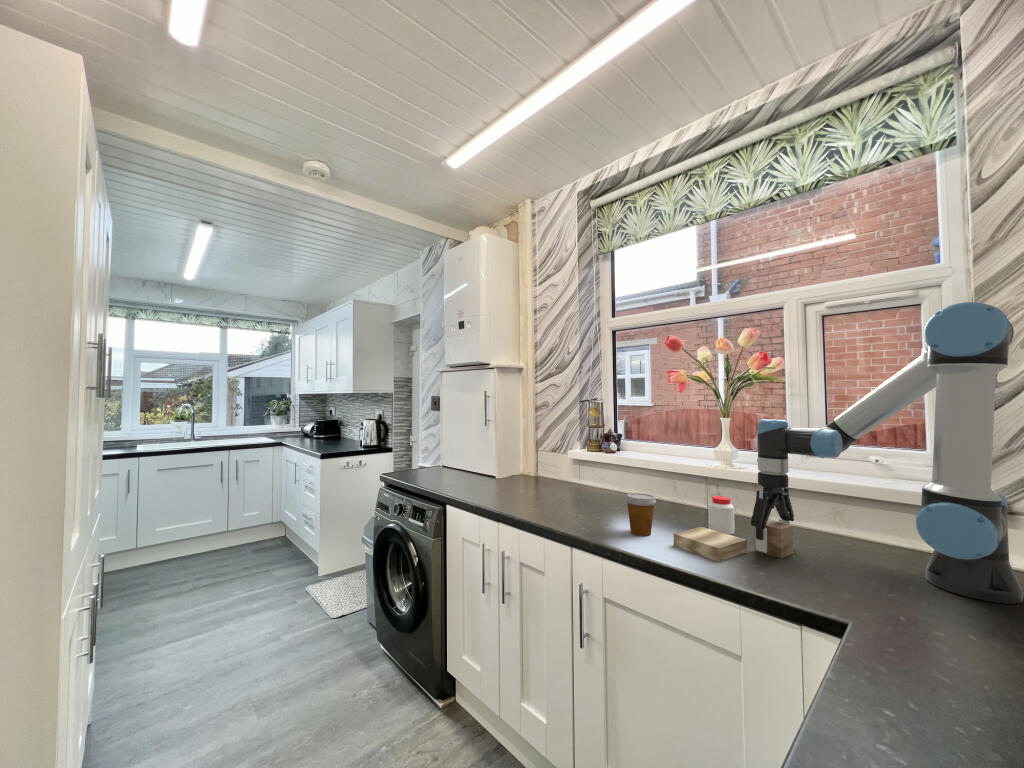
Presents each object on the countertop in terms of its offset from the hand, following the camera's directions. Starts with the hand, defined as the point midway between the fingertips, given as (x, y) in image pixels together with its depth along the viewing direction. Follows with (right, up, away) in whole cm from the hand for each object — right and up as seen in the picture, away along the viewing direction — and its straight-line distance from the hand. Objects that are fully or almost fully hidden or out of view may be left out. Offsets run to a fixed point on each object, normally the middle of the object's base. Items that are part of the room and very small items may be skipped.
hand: (773, 546), depth 118 cm
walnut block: (0, -1, 0) cm, 1 cm away
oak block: (-18, -2, +2) cm, 18 cm away
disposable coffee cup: (-34, -2, +15) cm, 37 cm away
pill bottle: (-5, -2, +19) cm, 20 cm away
